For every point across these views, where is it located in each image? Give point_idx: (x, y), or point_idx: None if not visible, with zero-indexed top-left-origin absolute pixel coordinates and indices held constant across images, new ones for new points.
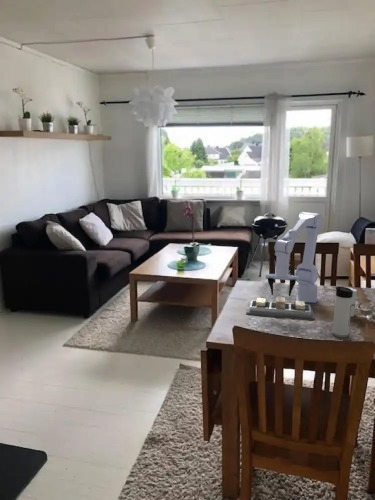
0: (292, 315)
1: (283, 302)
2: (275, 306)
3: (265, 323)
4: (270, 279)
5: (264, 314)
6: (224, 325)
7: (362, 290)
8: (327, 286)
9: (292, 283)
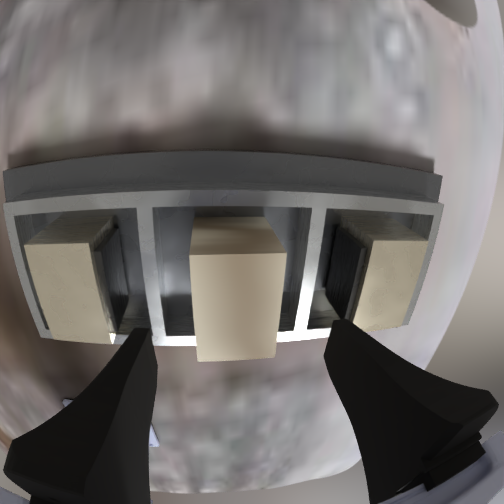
0: (130, 165)
1: (206, 251)
2: None
3: (335, 26)
4: (456, 458)
5: (345, 158)
6: (491, 39)
7: None
8: None
9: (40, 462)
